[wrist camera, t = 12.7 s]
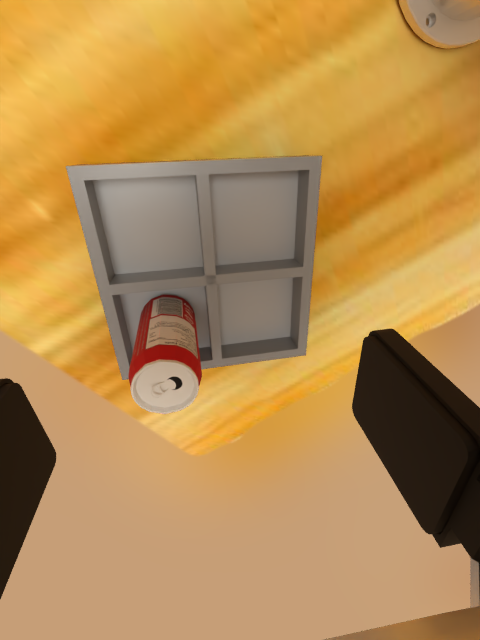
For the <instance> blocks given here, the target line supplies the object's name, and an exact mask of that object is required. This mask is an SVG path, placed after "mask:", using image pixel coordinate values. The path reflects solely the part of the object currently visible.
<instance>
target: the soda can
mask: <svg viewBox="0 0 480 640" xmlns="http://www.w3.org/2000/svg"><path fill="white" fill-rule="evenodd" d="M128 377H129V382H130V386H131V394H132V397H133V399H134V400H135V402H136V403H137V404H138V405H139V406H140V407H141V408H143V409H145V410H147V411H149V412H155V413H161V414H167V413H172V412H176V411H180V410H182V409H184V408H186V407H188V406H189V405H190V404H191V403H192V402H193V401H194V399H195V398H196V396H197V394H198V390H199V385H200V381H201V377H202V372H201V362H200V354H199V345H198V337H197V329H196V321H195V313H194V310H193V308H192V307H191V305H190V304H189V303H188V302H187V301H186V300H184V299H183V298H181V297H178V296H175V295H160V296H158V297H155V298H152V299H151V300H150V301H149V302H148V303H147V304H146V305H145V306H144V308H143V310H142V312H141V316H140V321H139V326H138V330H137V335H136V340H135V345H134V349H133V354H132V359H131V364H130V368H129V375H128Z"/></svg>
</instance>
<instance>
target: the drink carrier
mask: <svg viewBox="0 0 480 640" xmlns="http://www.w3.org/2000/svg"><path fill="white" fill-rule="evenodd" d="M321 163H322V156H309V155H305V156H280V157H256V158H231V159H206V160H182V161H157V162H132V163H108V164H83V165H72V166H66V169H67V172H68V176H69V180H70V184H71V187H72V191H73V195H74V199H75V203H76V206H77V210H78V214H79V218H80V221H81V225H82V229H83V233H84V236H85V240H86V244H87V248H88V252H89V255H90V259H91V263H92V267H93V270H94V274H95V278H96V282H97V286H98V289H99V293H100V297H101V301H102V304H103V308H104V312H105V316H106V320H107V323H108V327H109V331H110V335H111V338H112V342H113V346H114V350H115V353H116V357H117V361H118V365H119V369H120V372H121V376H122V380H126V379H129V377H128V375H129V368H130V364H131V359H132V354H133V349H134V345H135V340H136V335H137V330H138V326H139V321H140V316H141V312H142V310H143V308H144V306H145V305H146V304H147V303H148V302H149V301H150V300H151V299H152V298H155V297H158V296H160V295H175V296H178V297H181V298H183V299H184V300H186V301H187V302H188V303H189V304H190V305H191V307H192V308H193V310H194V313H195V321H196V329H197V337H198V345H199V354H200V362H201V369H207V368H214V367H222V366H229V365H237V364H244V363H251V362H259V361H266V360H274V359H281V358H289V357H296V356H303V355H306V347H307V335H308V323H309V310H310V298H311V286H312V274H313V261H314V249H315V237H316V224H317V212H318V200H319V187H320V175H321Z"/></svg>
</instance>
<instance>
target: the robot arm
mask: <svg viewBox="0 0 480 640" xmlns="http://www.w3.org/2000/svg"><path fill="white" fill-rule="evenodd" d="M399 4H400V7H401V9H402V12H403V14H404V16H405V19H406V21H407V22H408V24H409V25H410V27H411V28H412V30H413V31H414V32H415V33H416V34H417V35H418V36H419V37H420V38H421V39H422V40H424V41H425V42H427V43H429V44H431V45H433V46H435V47H441V48H447V49H449V48H457V47H462V46H465V45H468V44H471V43H474V42H476V41H478V40H480V0H399ZM352 409H353V413H354V416H355V418H356V420H357V421H358V423H359V425H360V426H361V428H362V430H363V431H364V433H365V435H366V436H367V438H368V440H369V441H370V443H371V444H372V446H373V448H374V450H375V451H376V453H377V454H378V456H379V458H380V459H381V461H382V463H383V464H384V466H385V468H386V469H387V471H388V473H389V474H390V476H391V477H392V479H393V481H394V483H395V484H396V486H397V488H398V489H399V491H400V492H401V494H402V496H403V497H404V499H405V501H406V502H407V504H408V506H409V507H410V509H411V511H412V512H413V514H414V516H415V517H416V519H417V520H418V522H419V524H420V526H421V527H422V528H423V530H424V531H425V532H426V533H428V534H432V535H433V537H434V538H435V540H436V542H437V543H438V545H439V546H440V548H441V547H446V546H450V545H455V544H460V543H461V544H462V545H463V547H464V548H465V549H466V551H467V552H468V554H469V555H470V558H471V559H470V560H471V561H470V565H471V566H470V568H471V569H470V573H471V574H470V575H471V577H470V579H471V580H470V586H471V587H470V589H471V590H470V605H471V606H470V608H468V609H463V610H458V611H452V612H447V613H442V614H438V615H433V616H429V617H424V618H420V619H415V620H411V621H406V622H401V623H397V624H393V625H388V626H384V627H379V628H375V629H370V630H366V631H361V632H356V633H352V634H347V635H343V636H339V637H334V638H329V639H325V640H480V408H479V407H478V406H477V405H476V404H475V403H474V402H473V401H472V400H470V399H469V398H468V397H467V396H466V395H465V394H464V393H463V392H462V391H461V390H460V389H458V388H457V387H456V386H455V385H454V384H453V383H452V382H451V381H450V380H449V379H448V378H446V377H445V376H444V375H443V374H442V373H441V372H440V371H439V370H438V369H437V368H436V367H435V366H433V365H432V364H431V363H430V362H429V361H428V360H427V359H426V358H425V357H424V356H422V355H421V354H420V353H419V352H418V351H417V350H416V349H415V348H414V347H413V346H411V344H410V343H408V342H407V341H406V340H405V339H404V338H403V337H402V336H401V335H400V334H399V333H398V332H396V331H395V330H394V329H384V330H376V331H372V332H370V333H369V336H368V337H365V338H364V340H363V345H362V351H361V357H360V363H359V369H358V374H357V380H356V386H355V392H354V398H353V404H352ZM55 463H56V452H55V449H54V447H53V445H52V443H51V442H50V440H49V438H48V436H47V434H46V432H45V431H44V429H43V427H42V425H41V423H40V421H39V419H38V417H37V415H36V414H35V412H34V410H33V408H32V406H31V404H30V402H29V401H28V399H27V397H26V395H25V393H24V391H23V389H22V387H21V386H20V385H19V384H18V383H14V382H13V381H12V380H10V379H0V599H1V596H2V594H3V591H4V589H5V586H6V584H7V582H8V579H9V577H10V574H11V572H12V569H13V567H14V564H15V562H16V559H17V557H18V554H19V552H20V550H21V547H22V545H23V542H24V540H25V537H26V535H27V532H28V530H29V527H30V525H31V522H32V520H33V517H34V515H35V512H36V510H37V508H38V505H39V502H40V500H41V498H42V495H43V493H44V490H45V488H46V485H47V483H48V480H49V478H50V475H51V473H52V471H53V468H54V466H55Z"/></svg>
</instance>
